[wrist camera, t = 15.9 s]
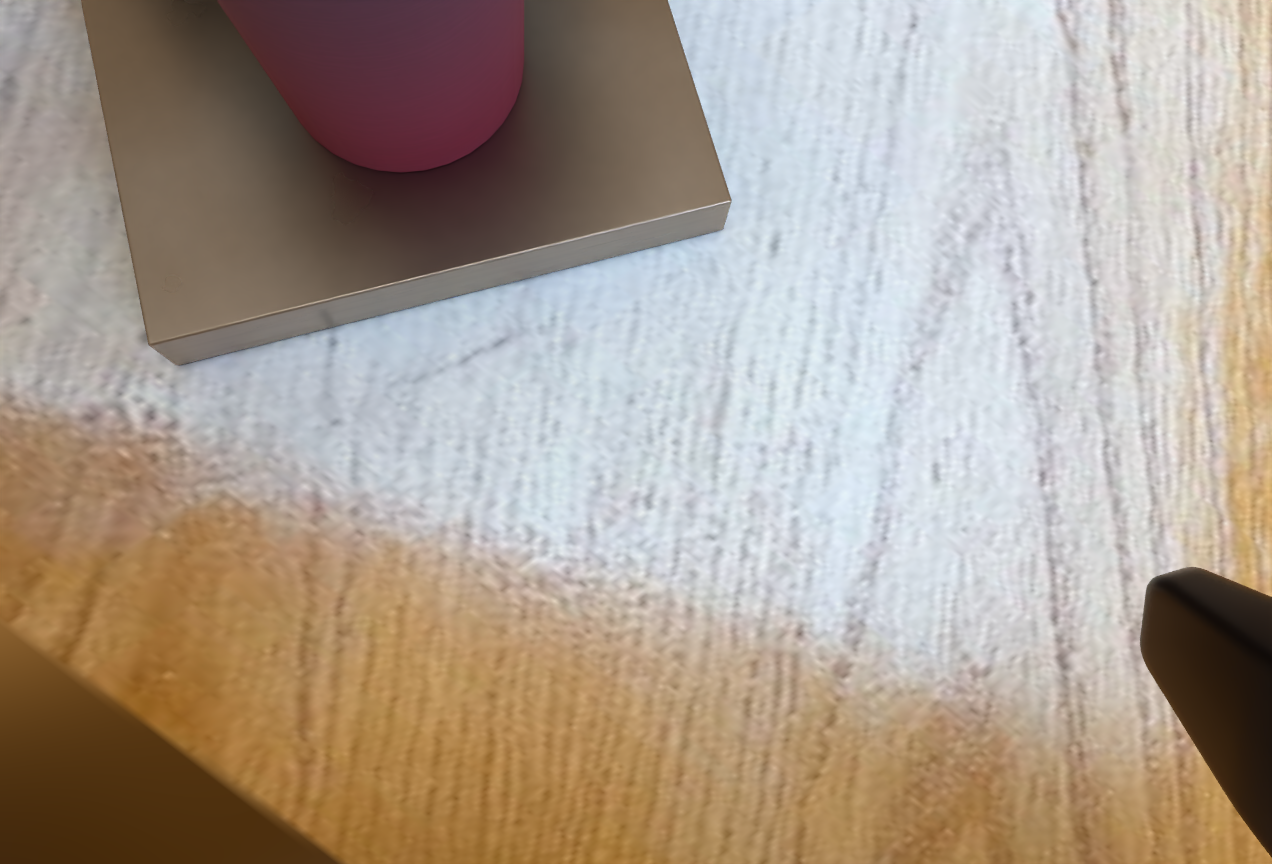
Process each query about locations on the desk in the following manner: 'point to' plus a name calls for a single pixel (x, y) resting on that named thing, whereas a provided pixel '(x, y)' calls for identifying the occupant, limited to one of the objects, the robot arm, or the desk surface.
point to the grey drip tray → (386, 175)
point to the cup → (390, 72)
